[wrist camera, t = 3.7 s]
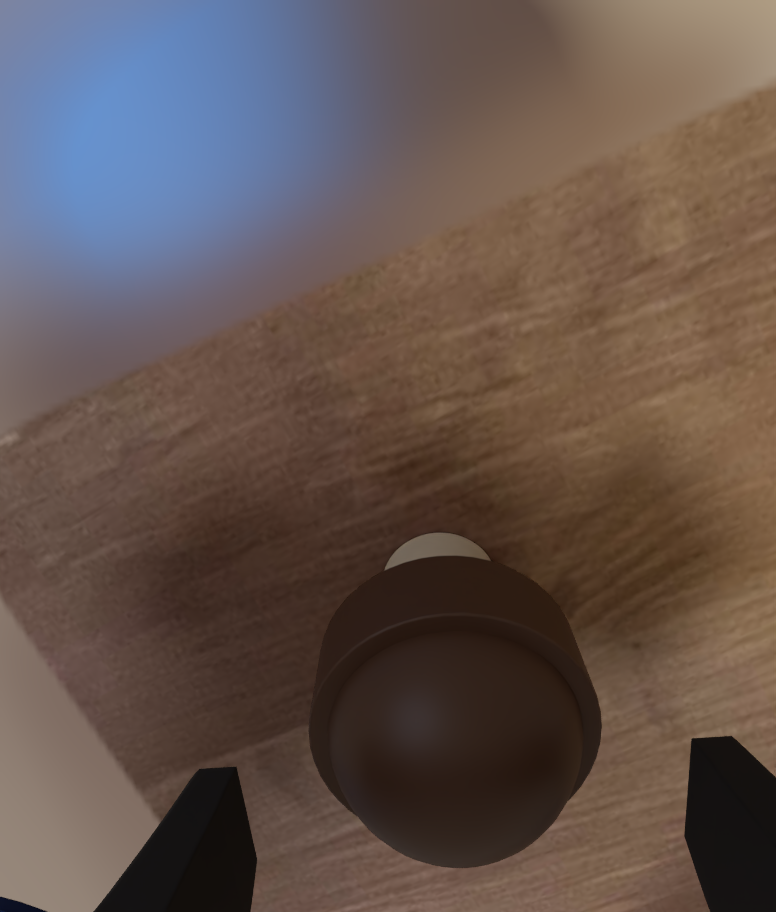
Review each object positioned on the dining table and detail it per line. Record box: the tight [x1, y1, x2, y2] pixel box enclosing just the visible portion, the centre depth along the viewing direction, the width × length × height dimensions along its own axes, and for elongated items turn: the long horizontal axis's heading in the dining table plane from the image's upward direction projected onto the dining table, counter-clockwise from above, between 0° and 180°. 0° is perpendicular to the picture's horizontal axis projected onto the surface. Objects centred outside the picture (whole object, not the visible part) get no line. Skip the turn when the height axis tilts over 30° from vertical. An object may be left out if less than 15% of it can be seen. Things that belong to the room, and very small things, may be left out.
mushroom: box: [309, 533, 602, 868], centre depth 14 cm, size 5×5×7 cm
